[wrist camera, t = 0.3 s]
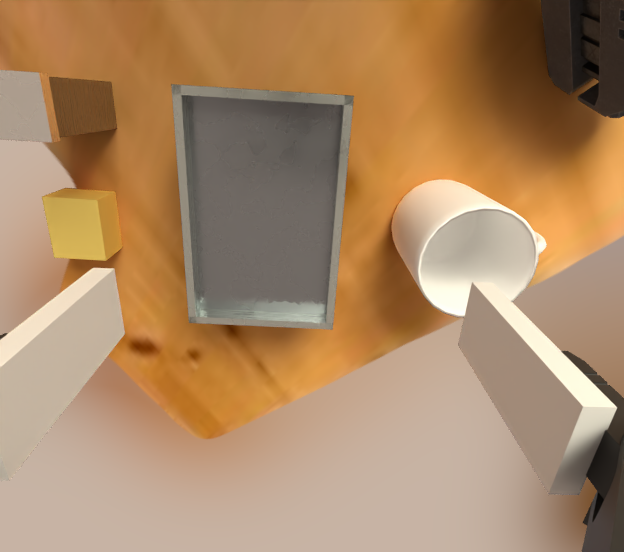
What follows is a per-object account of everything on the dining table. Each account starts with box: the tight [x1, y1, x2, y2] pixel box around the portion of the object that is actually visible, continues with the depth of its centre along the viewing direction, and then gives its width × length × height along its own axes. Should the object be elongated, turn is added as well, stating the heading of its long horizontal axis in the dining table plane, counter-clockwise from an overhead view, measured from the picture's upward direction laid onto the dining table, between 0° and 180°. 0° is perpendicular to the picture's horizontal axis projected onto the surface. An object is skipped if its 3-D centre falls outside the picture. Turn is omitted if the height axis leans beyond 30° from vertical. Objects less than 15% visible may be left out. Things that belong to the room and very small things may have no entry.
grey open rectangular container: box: [171, 84, 354, 330], centre depth 36 cm, size 18×13×12 cm
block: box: [42, 188, 123, 261], centre depth 40 cm, size 6×5×4 cm
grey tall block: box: [0, 70, 117, 142], centre depth 32 cm, size 4×4×11 cm
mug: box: [391, 179, 547, 318], centre depth 37 cm, size 9×12×12 cm
